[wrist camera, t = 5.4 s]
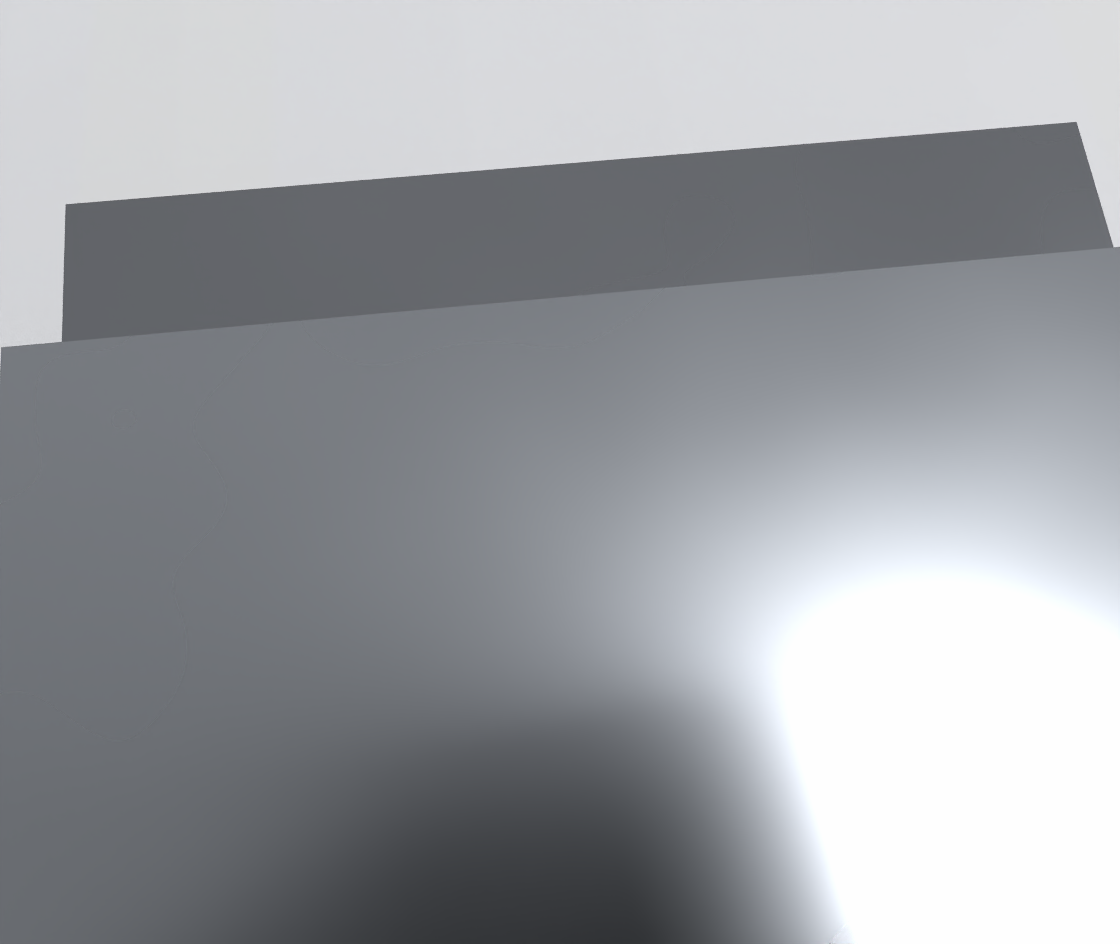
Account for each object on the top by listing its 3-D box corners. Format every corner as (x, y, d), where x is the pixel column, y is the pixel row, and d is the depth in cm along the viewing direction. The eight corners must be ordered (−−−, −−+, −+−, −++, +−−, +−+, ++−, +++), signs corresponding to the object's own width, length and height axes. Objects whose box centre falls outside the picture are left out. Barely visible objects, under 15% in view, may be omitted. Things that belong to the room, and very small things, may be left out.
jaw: (691, 557, 16) (1137, 54, 4) (754, 969, 15) (1765, 2008, 3) (398, 588, 16) (12, 140, 4) (427, 1013, 14) (-91, 2398, 2)
